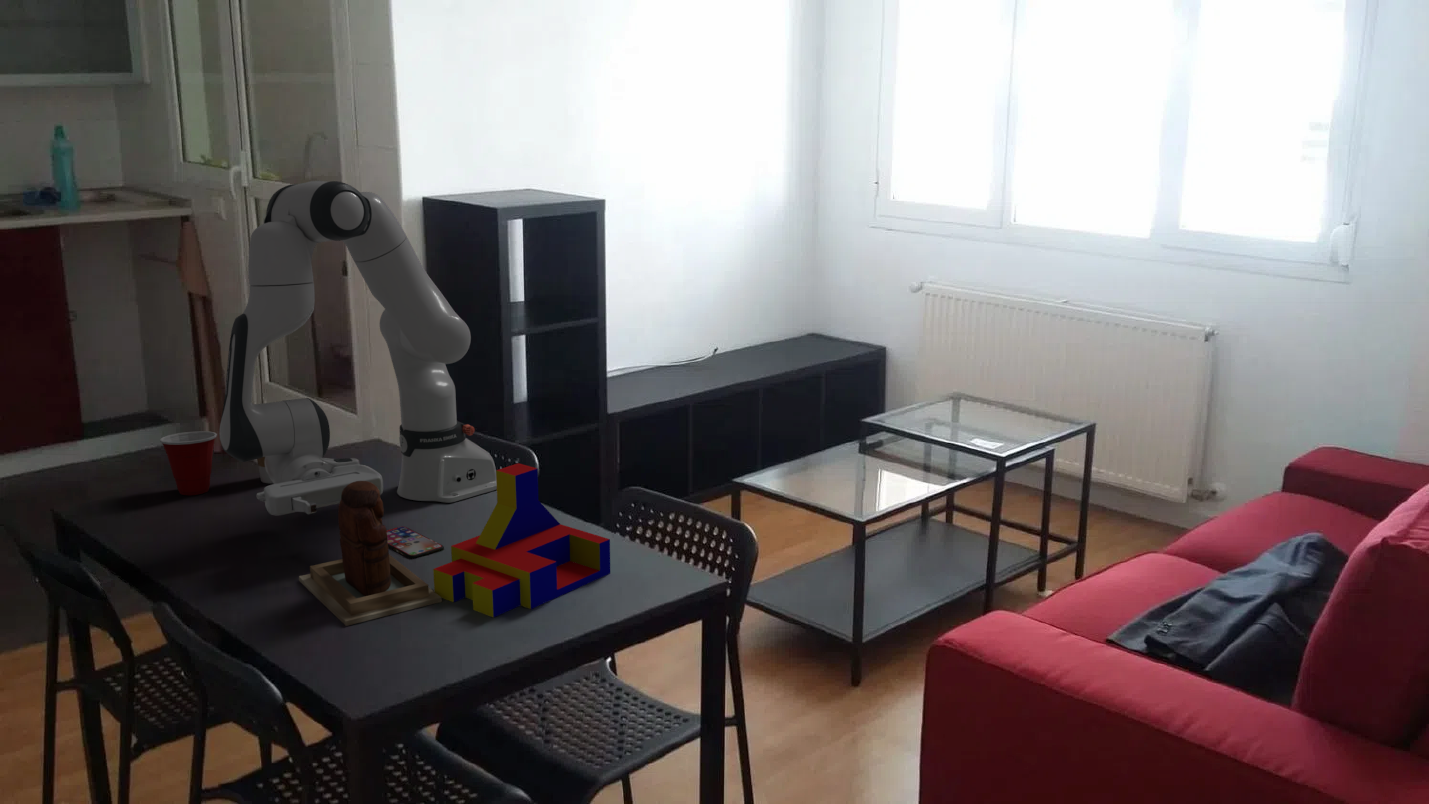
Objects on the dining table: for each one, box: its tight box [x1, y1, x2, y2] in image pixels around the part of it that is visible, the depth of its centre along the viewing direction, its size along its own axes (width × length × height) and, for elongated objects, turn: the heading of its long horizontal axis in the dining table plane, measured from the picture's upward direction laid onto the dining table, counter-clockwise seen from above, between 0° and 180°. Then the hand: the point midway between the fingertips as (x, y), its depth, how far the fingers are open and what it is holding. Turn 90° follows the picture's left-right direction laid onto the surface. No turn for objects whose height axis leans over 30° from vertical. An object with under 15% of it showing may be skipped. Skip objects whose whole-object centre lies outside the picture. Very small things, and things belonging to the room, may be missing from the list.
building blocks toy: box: [432, 462, 611, 618], centre depth 210 cm, size 19×25×18 cm
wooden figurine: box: [337, 481, 391, 596], centre depth 206 cm, size 12×6×18 cm, turn 38°
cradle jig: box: [298, 554, 442, 627], centre depth 208 cm, size 16×22×3 cm
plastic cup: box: [159, 430, 218, 496], centre depth 255 cm, size 11×11×12 cm
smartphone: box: [386, 525, 445, 560], centre depth 229 cm, size 7×1×15 cm
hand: (339, 503), depth 214 cm, fingers open, 8 cm apart
